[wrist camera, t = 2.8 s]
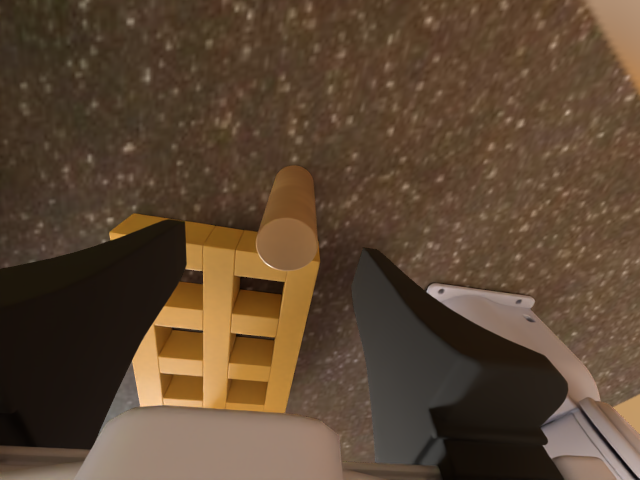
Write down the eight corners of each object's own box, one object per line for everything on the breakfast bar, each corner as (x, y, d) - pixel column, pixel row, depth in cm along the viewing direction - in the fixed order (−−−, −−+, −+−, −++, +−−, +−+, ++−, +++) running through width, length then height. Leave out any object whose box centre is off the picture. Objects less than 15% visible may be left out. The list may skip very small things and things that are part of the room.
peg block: (318, 240, 21) (320, 261, 19) (285, 391, 30) (283, 419, 27) (133, 212, 19) (108, 232, 17) (155, 381, 28) (140, 409, 26)
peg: (317, 169, 18) (323, 223, 11) (310, 205, 20) (312, 275, 13) (276, 161, 18) (258, 213, 11) (272, 199, 19) (252, 267, 12)
